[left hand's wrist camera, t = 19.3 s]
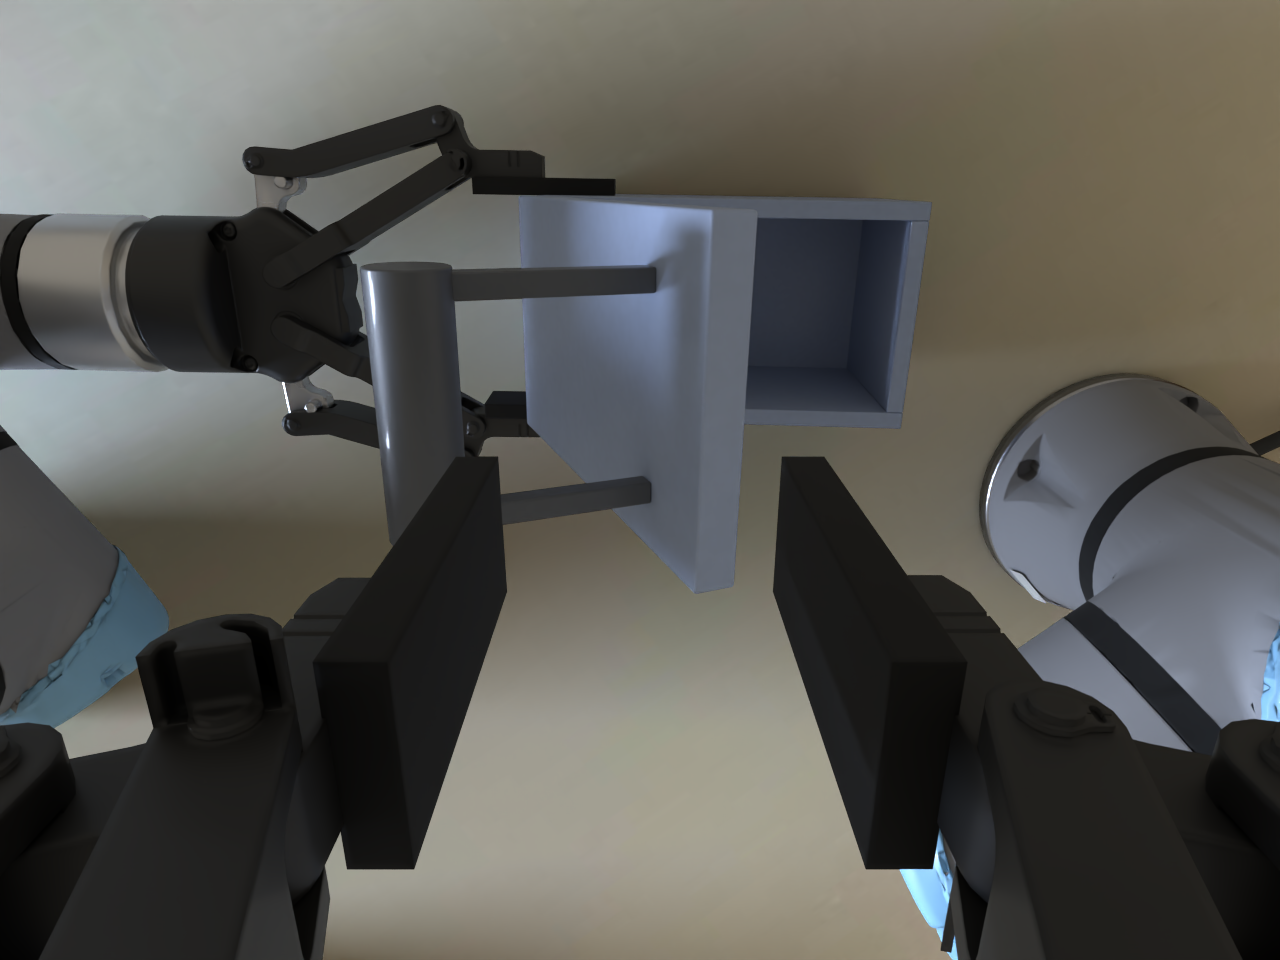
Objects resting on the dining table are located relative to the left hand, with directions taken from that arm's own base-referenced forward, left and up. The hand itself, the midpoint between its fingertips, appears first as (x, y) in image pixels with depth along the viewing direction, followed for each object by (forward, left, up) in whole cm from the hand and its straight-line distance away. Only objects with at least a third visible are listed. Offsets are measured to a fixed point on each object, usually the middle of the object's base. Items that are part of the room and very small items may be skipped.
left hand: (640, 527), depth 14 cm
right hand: (+1, -1, -27) cm, 27 cm away
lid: (0, -1, -14) cm, 14 cm away
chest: (-4, +2, -33) cm, 33 cm away
